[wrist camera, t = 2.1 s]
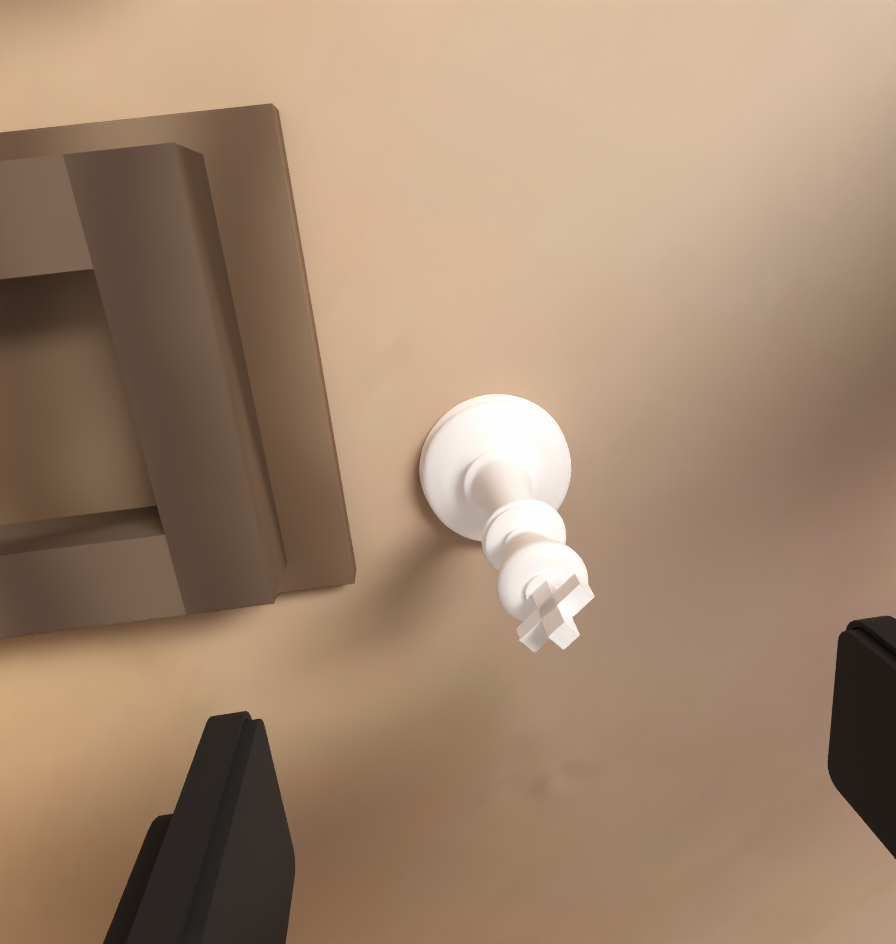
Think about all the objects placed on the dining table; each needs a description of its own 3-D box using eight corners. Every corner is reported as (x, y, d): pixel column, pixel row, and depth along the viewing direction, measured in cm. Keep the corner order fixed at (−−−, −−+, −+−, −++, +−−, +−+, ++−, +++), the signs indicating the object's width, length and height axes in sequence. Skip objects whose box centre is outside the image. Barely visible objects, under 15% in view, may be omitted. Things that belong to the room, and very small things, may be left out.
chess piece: (599, 461, 23) (742, 623, 13) (495, 563, 24) (560, 782, 14) (493, 361, 21) (568, 462, 12) (387, 473, 22) (380, 648, 13)
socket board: (278, 110, 19) (252, 83, 15) (356, 569, 23) (349, 624, 20) (-326, 175, 18) (-487, 162, 15) (-124, 630, 23) (-212, 697, 20)
